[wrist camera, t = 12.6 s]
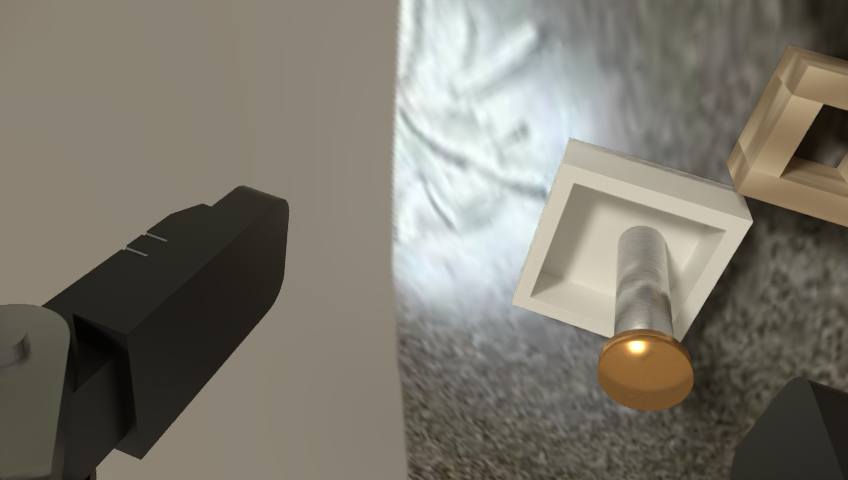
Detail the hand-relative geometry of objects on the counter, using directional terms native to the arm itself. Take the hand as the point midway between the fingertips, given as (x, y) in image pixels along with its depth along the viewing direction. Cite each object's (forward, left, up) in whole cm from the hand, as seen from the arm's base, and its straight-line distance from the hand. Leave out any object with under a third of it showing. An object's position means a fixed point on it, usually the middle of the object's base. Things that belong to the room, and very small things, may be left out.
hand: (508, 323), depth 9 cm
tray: (+14, +6, -30) cm, 34 cm away
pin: (+13, +8, -29) cm, 33 cm away
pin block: (+3, +14, -30) cm, 33 cm away
